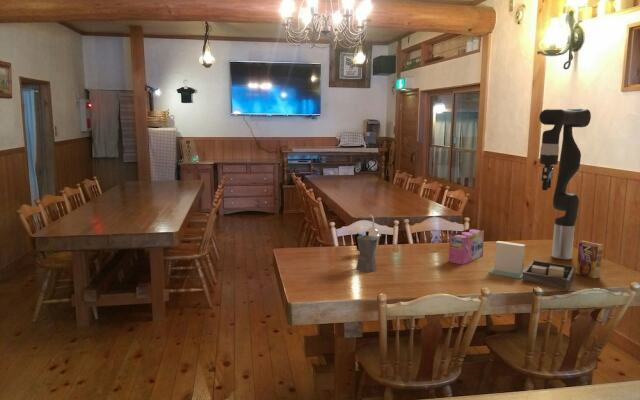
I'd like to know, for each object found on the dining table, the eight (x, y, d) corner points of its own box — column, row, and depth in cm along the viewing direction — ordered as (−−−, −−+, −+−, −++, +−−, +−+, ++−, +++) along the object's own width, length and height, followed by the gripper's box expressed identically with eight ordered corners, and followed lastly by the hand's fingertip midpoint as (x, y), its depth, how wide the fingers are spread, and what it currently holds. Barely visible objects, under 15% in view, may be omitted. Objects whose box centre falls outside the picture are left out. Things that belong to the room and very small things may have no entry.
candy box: (600, 277, 218) (603, 244, 215) (594, 279, 215) (598, 245, 213) (581, 272, 225) (584, 240, 223) (575, 273, 223) (578, 241, 221)
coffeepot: (383, 271, 224) (384, 233, 221) (367, 274, 219) (368, 235, 216) (362, 262, 236) (363, 226, 233) (346, 265, 231) (347, 228, 228)
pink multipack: (470, 252, 257) (471, 227, 255) (484, 255, 252) (486, 229, 250) (448, 261, 240) (449, 235, 237) (462, 265, 234) (464, 237, 232)
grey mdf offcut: (532, 278, 216) (533, 265, 215) (545, 280, 213) (547, 267, 212) (530, 280, 213) (531, 267, 212) (544, 283, 210) (545, 269, 209)
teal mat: (496, 265, 233) (496, 264, 233) (527, 271, 226) (527, 269, 226) (488, 273, 222) (488, 272, 222) (521, 279, 214) (521, 277, 214)
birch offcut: (548, 281, 212) (550, 265, 211) (563, 283, 209) (564, 267, 208) (547, 283, 209) (548, 267, 208) (561, 286, 206) (563, 270, 205)
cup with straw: (362, 255, 250) (363, 216, 247) (365, 250, 258) (366, 213, 255) (378, 256, 247) (380, 218, 244) (381, 251, 256) (383, 214, 253)
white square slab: (495, 267, 229) (497, 240, 226) (522, 272, 222) (525, 244, 220) (494, 269, 226) (495, 242, 224) (521, 274, 219) (523, 246, 217)
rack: (530, 270, 227) (531, 259, 227) (573, 277, 218) (574, 266, 217) (522, 281, 212) (523, 270, 211) (568, 289, 202) (569, 277, 201)
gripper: (543, 152, 228) (540, 186, 231) (537, 154, 217) (534, 190, 219) (560, 153, 224) (557, 188, 227) (556, 154, 213) (552, 191, 215)
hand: (546, 189), depth 223 cm, fingers open, 8 cm apart
